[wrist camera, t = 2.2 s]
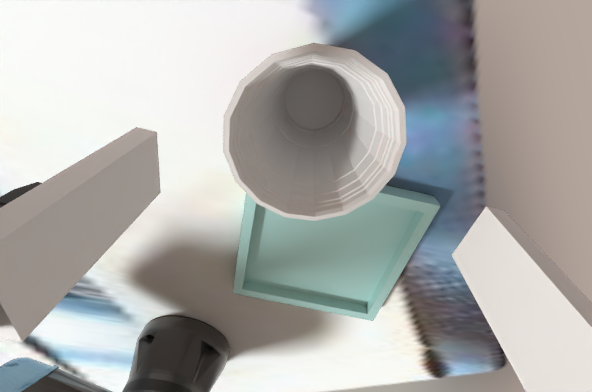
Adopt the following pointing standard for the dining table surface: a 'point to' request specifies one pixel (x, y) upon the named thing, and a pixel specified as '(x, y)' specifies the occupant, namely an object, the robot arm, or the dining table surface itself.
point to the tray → (332, 253)
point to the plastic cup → (314, 132)
